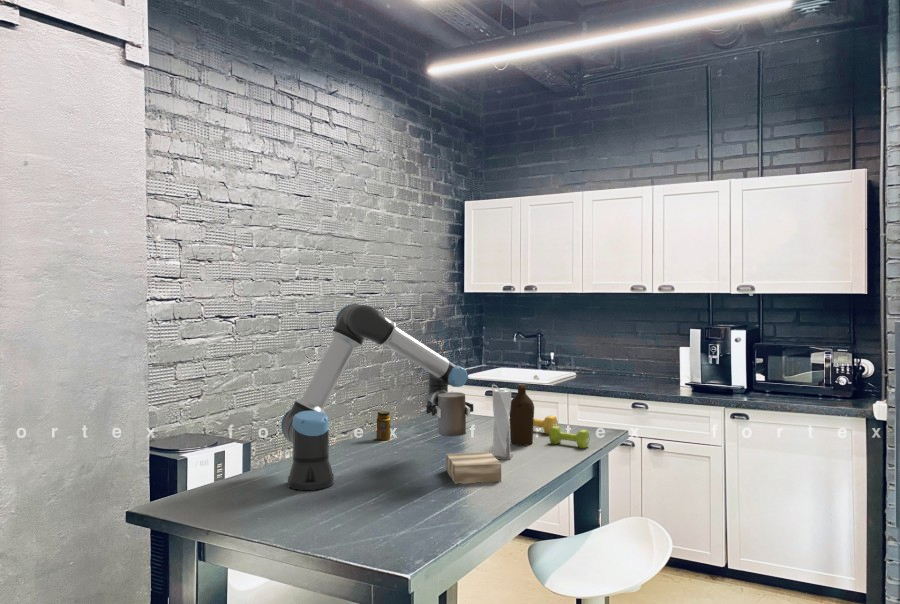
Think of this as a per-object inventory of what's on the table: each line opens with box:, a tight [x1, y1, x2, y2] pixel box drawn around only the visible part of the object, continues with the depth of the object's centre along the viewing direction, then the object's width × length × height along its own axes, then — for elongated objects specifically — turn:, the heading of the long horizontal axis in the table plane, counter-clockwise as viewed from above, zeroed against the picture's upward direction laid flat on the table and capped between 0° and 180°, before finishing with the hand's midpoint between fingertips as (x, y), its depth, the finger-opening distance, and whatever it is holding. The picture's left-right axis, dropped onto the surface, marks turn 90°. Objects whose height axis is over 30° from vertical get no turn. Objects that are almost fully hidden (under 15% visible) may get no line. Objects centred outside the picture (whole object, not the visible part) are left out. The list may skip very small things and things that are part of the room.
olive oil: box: [509, 383, 535, 446], centre depth 270 cm, size 11×11×25 cm
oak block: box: [445, 451, 502, 485], centre depth 222 cm, size 16×16×6 cm
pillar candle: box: [437, 391, 467, 437], centre depth 221 cm, size 10×10×15 cm
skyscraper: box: [491, 383, 514, 460], centre depth 248 cm, size 8×8×28 cm
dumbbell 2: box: [548, 425, 591, 449], centre depth 267 cm, size 16×8×7 cm, turn 54°
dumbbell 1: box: [533, 415, 559, 435], centre depth 293 cm, size 19×9×8 cm, turn 50°
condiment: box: [369, 410, 395, 444], centre depth 275 cm, size 7×8×12 cm
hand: (454, 412), depth 216 cm, fingers closed on pillar candle, 9 cm apart
